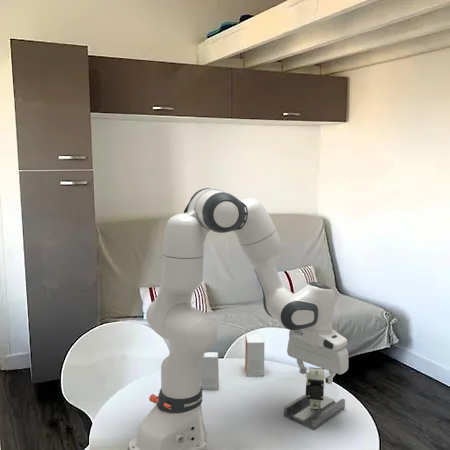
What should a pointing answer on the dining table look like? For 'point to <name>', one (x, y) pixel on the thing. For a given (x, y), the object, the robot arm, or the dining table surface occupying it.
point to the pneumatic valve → (315, 387)
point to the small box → (254, 354)
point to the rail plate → (313, 411)
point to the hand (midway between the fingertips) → (315, 378)
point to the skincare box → (210, 371)
